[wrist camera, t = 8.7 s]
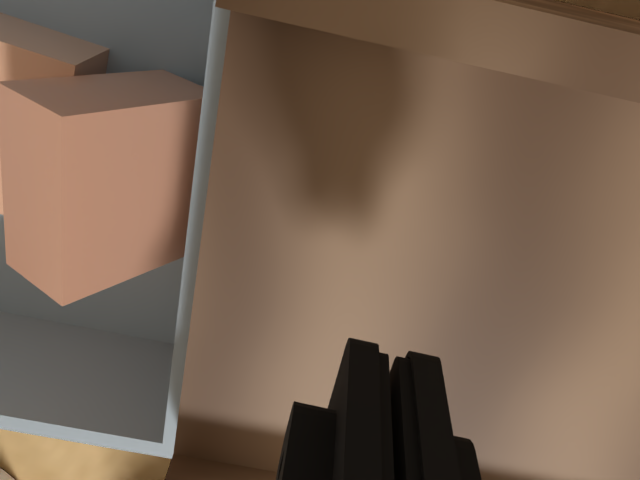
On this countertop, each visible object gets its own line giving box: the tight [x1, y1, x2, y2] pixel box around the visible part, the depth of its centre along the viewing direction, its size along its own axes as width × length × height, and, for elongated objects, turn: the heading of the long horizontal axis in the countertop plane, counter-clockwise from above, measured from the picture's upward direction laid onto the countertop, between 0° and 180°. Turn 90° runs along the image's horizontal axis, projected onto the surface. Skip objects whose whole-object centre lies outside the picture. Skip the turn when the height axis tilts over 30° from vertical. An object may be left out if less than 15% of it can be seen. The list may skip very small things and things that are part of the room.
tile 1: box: [0, 70, 204, 306], centre depth 16 cm, size 5×5×2 cm
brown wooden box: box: [165, 0, 640, 480], centre depth 16 cm, size 14×14×9 cm
